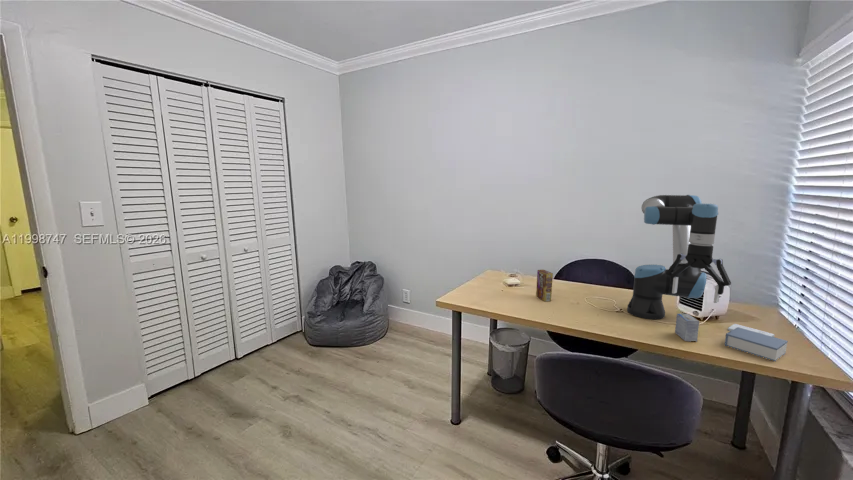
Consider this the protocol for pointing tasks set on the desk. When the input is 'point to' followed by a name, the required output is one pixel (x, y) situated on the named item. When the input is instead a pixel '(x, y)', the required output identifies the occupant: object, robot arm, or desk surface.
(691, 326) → the medicine box
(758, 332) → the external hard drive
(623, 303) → the desk surface
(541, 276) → the candy box
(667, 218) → the robot arm
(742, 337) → the book
